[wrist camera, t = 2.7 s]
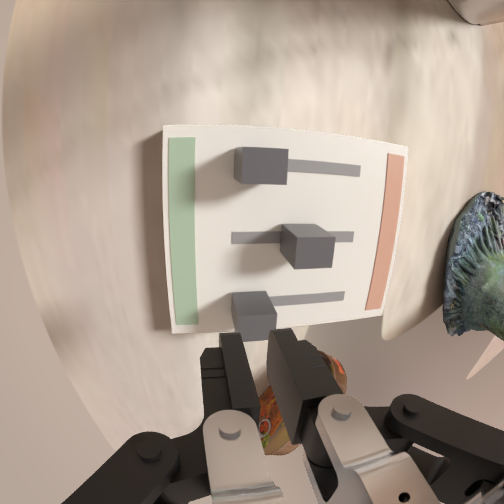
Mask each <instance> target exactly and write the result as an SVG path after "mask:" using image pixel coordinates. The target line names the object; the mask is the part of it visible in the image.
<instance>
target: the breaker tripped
mask: <svg viewBox="0 0 504 504" xmlns="http://www.w3.org/2000/svg"><path fill="white" fill-rule="evenodd" d="M335 240H336V237H335V236H333V235H332V234H330V233H329V232H327V231H326V230H324V229H323V228H321V227H320V226H318V225H317V224H282V225H281V240H280V252H281V254H282V255H283V256H284V257H285V259H286V260H287V261H288V262H289V263H290V265H291V266H292V267H293V268H294V270H295V269H317V268H332V263H333V256H334V248H335Z"/></svg>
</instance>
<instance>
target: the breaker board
mask: <svg viewBox="0 0 504 504" xmlns="http://www.w3.org/2000/svg"><path fill="white" fill-rule="evenodd" d="M236 147H264V148H281V149H289V151H288V171H287V185H271V184H241V183H239V182H238V181H237V180H235V179H234V157H235V148H236ZM407 159H408V147H406V146H402V145H397V144H392V143H387V142H382V141H377V140H371V139H366V138H360V137H354V136H348V135H341V134H334V133H326V132H318V131H310V130H301V129H290V128H279V127H265V126H247V125H210V124H194V125H163V152H162V188H163V225H164V246H165V262H166V276H167V288H168V299H169V309H170V318H171V327H172V334H173V333H207V332H228V331H235V329H234V324H233V320H232V292H250V291H266V292H267V294H268V296H269V298H270V300H271V302H272V304H273V306H274V308H275V310H276V312H277V324H276V328H283V327H294V326H304V325H313V324H322V323H330V322H337V321H345V320H352V319H360V318H366V317H373V316H379V315H382V312H383V308H384V304H385V300H386V296H387V292H388V287H389V283H390V278H391V274H392V269H393V264H394V259H395V253H396V248H397V242H398V236H399V230H400V223H401V216H402V209H403V201H404V192H405V183H406V172H407ZM282 224H317V225H318V226H320V227H321V228H323V229H324V230H326V231H327V232H329V233H330V234H332V235H333V236H335V237H336V240H335V248H334V256H333V263H332V268H317V269H295V270H294V268H293V267H292V266H291V265H290V263H289V262H288V261H287V260H286V259H285V257H284V256H283V255H282V254H281V252H280V240H281V225H282Z"/></svg>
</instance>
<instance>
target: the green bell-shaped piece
mask: <svg viewBox="0 0 504 504" xmlns="http://www.w3.org/2000/svg"><path fill="white" fill-rule="evenodd" d="M502 200H504V198H503V197H501V196H499V195H496V194H495V193H493V192H481V193H478V194H477V195H476V196H474V197H473V198H472V199H471V200H470V201H469V202H468V204H467V205H466V206H465V208H464V209H463V210H462V212H461V213H460V214H459V216H458V217H457V218H456V219H455V222H454V225H453V228H452V231H451V234H450V237H449V240H448V249H447V258H446V265H445V272H444V289H443V293H444V303H443V321H444V323H445V325H446V328H447V332H448V333H449V334H450V335H451V336H453V335H455V334H456V333H457V334H458V336H460V335H462V334H463V333H464V332H467V331H470V330H471V329H472V330H476V331H484V330H488V331H490V332H491V333H493V334H495V335H496V336H497V337H499V338H500V339H501V340H503V341H504V203H503V202H502ZM486 212H487V213H486ZM489 212H490V214H488V213H489Z"/></svg>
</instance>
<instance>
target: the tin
mask: <svg viewBox="0 0 504 504" xmlns="http://www.w3.org/2000/svg"><path fill="white" fill-rule="evenodd" d="M318 352H319V353H320V355H321V357H322V359H323V360H324V362H325V363H326V367H328V368H329V370H330V372H331V373H332V375H333V377H334V378H335V380H336V382H337V383H338V385H339V387H340V388H341V390H342V392H343V393H344V394H345V393H346V388H347V377H346V373H345V371H344V369H343V367H342V365H341V364H340V362H339V361H338V360H337V359H335V358H333V357H332V356H329V355H327V354H325V353H324V352H322V351H319V350H318ZM259 402H260V406H261V408H260V419H259V430H258V432H259V436H260V439H261V443H262V446H263V450H264V453H265V455H285V454H288V453H290V452H291V451H293V450H294V449H296V448H297V447H298V446H299V445H300V444H296V445H292V444H291V441H290V438H289V436H288V433H287V430H286V427H285V424H284V422H283V419H282V416H281V413H280V410H279V407H278V405H277V402H276V399H275V396H274V393H273V390H272V387H271V386H270V387H269V388H268V389H267V390H266V391H265V393H264V394H263V395H262V396H261V397H260V398H259ZM301 444H302V443H301Z"/></svg>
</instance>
